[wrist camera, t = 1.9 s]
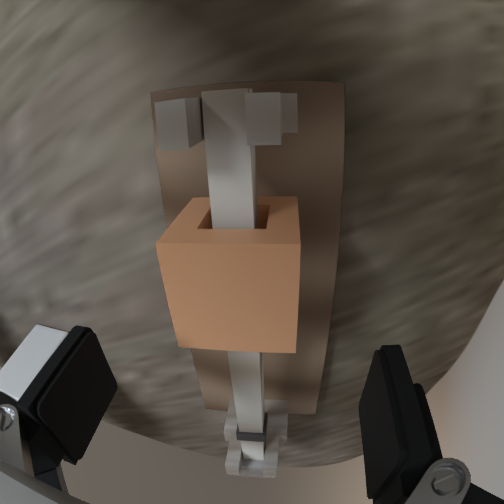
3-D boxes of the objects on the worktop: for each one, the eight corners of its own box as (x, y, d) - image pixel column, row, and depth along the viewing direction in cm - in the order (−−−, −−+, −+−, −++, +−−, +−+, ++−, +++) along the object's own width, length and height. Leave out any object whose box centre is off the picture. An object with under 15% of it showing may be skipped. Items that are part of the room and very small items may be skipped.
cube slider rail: (160, 91, 16) (74, 99, 9) (339, 83, 15) (384, 74, 8) (211, 406, 29) (194, 478, 22) (313, 411, 28) (313, 487, 20)
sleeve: (193, 197, 15) (155, 243, 11) (297, 196, 15) (300, 243, 10) (204, 284, 18) (178, 346, 13) (295, 286, 17) (295, 353, 13)
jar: (91, 391, 31) (50, 471, 21) (35, 354, 30) (-14, 426, 20) (103, 353, 27) (48, 452, 17) (37, 309, 26) (-30, 393, 15)
